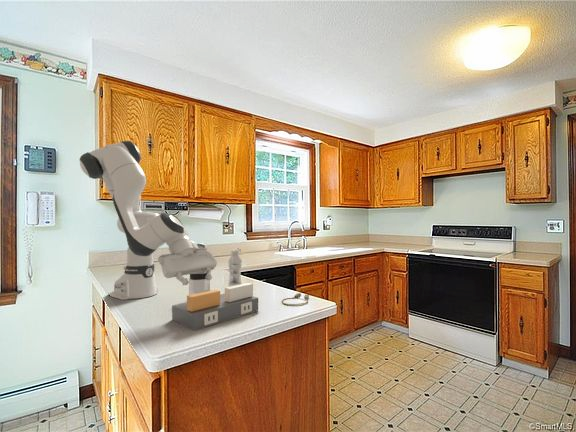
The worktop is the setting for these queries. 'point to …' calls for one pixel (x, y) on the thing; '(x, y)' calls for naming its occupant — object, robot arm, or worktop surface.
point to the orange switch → (203, 300)
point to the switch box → (213, 312)
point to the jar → (198, 283)
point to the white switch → (238, 292)
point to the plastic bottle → (235, 269)
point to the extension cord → (297, 298)
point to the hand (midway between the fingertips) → (198, 281)
